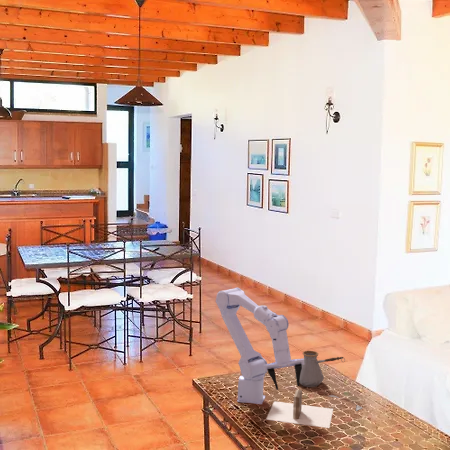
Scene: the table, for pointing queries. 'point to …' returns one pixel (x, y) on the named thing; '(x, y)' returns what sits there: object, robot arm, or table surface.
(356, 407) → the handheld gaming device
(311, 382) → the coffee pot
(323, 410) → the mat
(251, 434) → the table surface
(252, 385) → the robot arm
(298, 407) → the tile
